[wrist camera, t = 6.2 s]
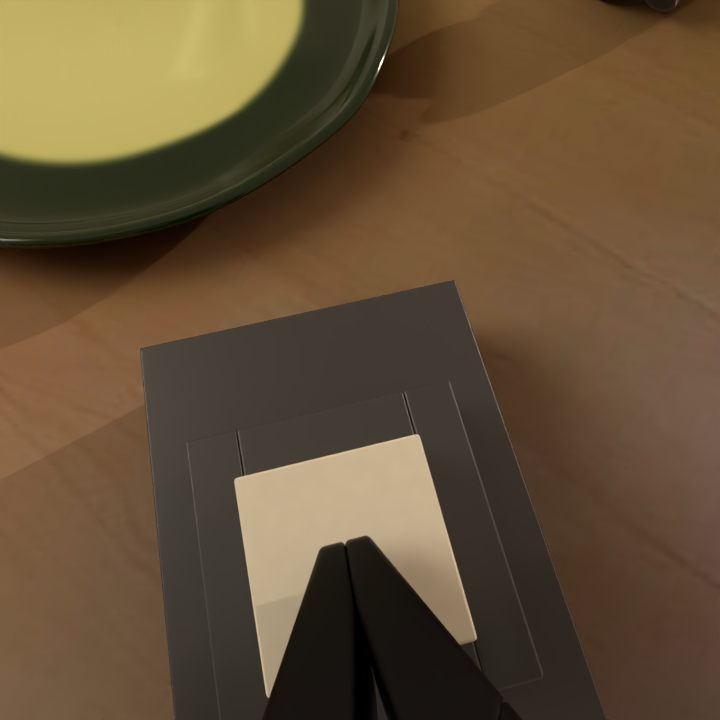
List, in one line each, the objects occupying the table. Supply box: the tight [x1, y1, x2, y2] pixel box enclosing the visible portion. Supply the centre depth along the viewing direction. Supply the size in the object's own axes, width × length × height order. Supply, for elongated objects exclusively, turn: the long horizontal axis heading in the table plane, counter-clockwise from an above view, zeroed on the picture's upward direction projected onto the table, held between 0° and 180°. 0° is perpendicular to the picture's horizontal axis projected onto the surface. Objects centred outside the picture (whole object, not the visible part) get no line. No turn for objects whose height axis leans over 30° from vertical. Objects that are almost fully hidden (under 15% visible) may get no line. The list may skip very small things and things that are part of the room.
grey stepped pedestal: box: [140, 280, 608, 720], centre depth 13 cm, size 14×10×6 cm
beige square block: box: [234, 434, 477, 698], centre depth 10 cm, size 4×4×2 cm
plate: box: [0, 0, 399, 249], centre depth 23 cm, size 28×28×2 cm
